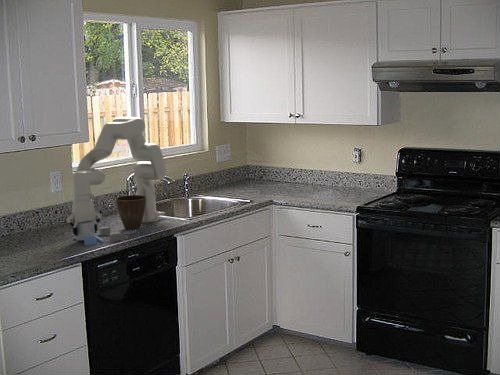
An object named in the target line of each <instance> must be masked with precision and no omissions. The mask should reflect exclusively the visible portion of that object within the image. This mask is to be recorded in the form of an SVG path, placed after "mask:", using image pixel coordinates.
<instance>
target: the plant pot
mask: <svg viewBox="0 0 500 375" xmlns="http://www.w3.org/2000/svg"><path fill="white" fill-rule="evenodd" d="M115 200H116V201H115V202H116V206H117V207H116V208H117V211H118V214H119V217H120V220H121V222H122V225H123V228H124V230H125V231H137V229H138V230H140V229H141V226H142V220H143V216H144V211H145V204H146V197H145V196H141V195H137V194H133V195H132V194H131V195H122V196H118V197H116V198H115Z"/></svg>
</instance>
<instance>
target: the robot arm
mask: <svg viewBox="0 0 500 375" xmlns="http://www.w3.org/2000/svg"><path fill="white" fill-rule="evenodd" d="M145 127H146V124H145V121H144V119H143V118H141V117H137V116H136V117H135V116H133V117H132V116H130V117H129V116H118V117H114V118H113V119H112V121H111V122H106V123H105V124H103V126H102V129H101V131H100V134H99V136H98V139H97V141H96V143H95V146H94V148H92V149H91V150H90V151H89V152H87V153H86V154H85V155H84V156H83V157H82V158H81V160H80V162H79V164H78V166H77V168H76V171H75V172H74V173H73V175H72V179H73V180H72V181H73V192H74V193H73V195H74V196H73V197H74V200H73V201H72V206H71V207H72V208H71V211H72V212H71V215H69V216H68V217H67V218H66V219H65V221H66V222H67V223H68V225H70V226H71V227H72V233H73V235H74V237H75V236H78V232H77V227H76V226H77V224H78V223H81V222H88V221H94V227H95V234H97V233H98V232H97V231H98V224H99V223H100V221H101V219H102V217H103V214H102V213H99V212H97V211H96V208H95V203H94V200H93V198H94V197H95V194H94V193H92V192H91V191H92V190H91V186H98V185H101V184H102V183H103V182H104V181H105V179H106V173H105V172H104V171H103V170H102V169H99V168H92V167H93V166H94V165H95V164H97V163H98V162H100V161H102V160H104V159H107V158H108V157H110V156H111V155H112V153H113V150H114V148H115V145H116V143H117V141H120V140H121V141H124V140H125V141H126V140H127V144H128V147H129V149H130V150H129V151H130V153H131V156H132V158H133V160H134V161H137V163H135V165H134V166H133V175H134V179H135V182H136V183H135V184H136V195H141V196H145V197H146V204H145V211H144V216H143V220H142V223H143V224H144V223H153V222H158V221H160V216H165V214H166V212H165V211H157V206H156V205H157V202H156V187H155V183H154V182H153V181H161V180H164V178H166V176H167V167H166V162H165V159H164V155H163V152H162V150H161V147H160V145H158V144H156V143H155V142H154V143H153V142H151V143H150V142H146V139H145V136H144V134H143V132H144V131H145ZM71 220H72V221H73V222H72V221H71ZM142 223H141V224H142Z"/></svg>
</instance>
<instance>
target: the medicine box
mask: <svg viewBox="0 0 500 375" xmlns="http://www.w3.org/2000/svg"><path fill="white" fill-rule="evenodd" d="M76 227H77V232H78V236H76V239H75V240H76V241H84V237H88V236H95V235H96V233H95V227H94V221H88V222H81V223H78V224H77V226H76Z"/></svg>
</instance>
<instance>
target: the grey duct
mask: <svg viewBox="0 0 500 375" xmlns="http://www.w3.org/2000/svg"><path fill="white" fill-rule="evenodd" d="M98 235H99V236H100V237H101V236H103V237H104V236H109V237H108V238H109V241H110V242H111V241H113V242H119V241H118V240H120V241H122V239H125V240H129V238H130V237H129V236H128V235H127V234H124V233H123V232H120V231H119V230H116V229H115V230H113V232H112V230H111V227H110V226H104V227H103V226H102V227H98Z"/></svg>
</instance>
